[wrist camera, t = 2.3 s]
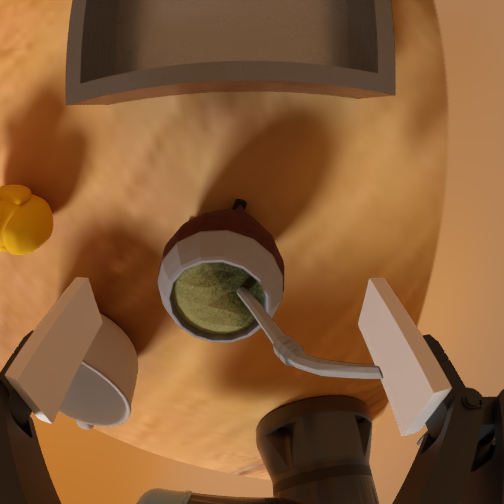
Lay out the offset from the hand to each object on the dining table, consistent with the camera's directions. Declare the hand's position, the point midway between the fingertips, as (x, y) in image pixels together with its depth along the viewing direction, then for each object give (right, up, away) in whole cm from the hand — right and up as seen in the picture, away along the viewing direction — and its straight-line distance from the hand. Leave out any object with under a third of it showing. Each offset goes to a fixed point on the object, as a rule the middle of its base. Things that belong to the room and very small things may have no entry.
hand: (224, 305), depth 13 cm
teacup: (-15, -7, +13) cm, 21 cm away
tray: (0, +19, +1) cm, 19 cm away
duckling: (-19, +6, +7) cm, 21 cm away
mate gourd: (0, +4, +8) cm, 9 cm away
